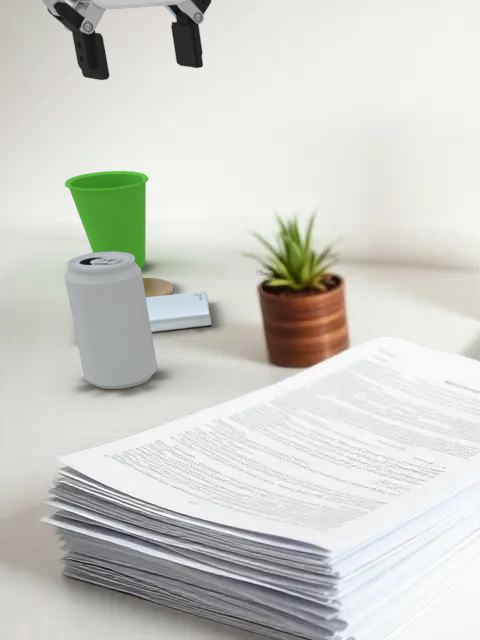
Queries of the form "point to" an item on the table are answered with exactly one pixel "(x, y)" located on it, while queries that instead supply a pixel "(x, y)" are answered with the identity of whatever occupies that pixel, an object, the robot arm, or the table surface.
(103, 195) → the cup
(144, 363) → the beverage can
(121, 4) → the robot arm
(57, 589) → the table surface
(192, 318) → the hard drive
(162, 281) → the coaster
